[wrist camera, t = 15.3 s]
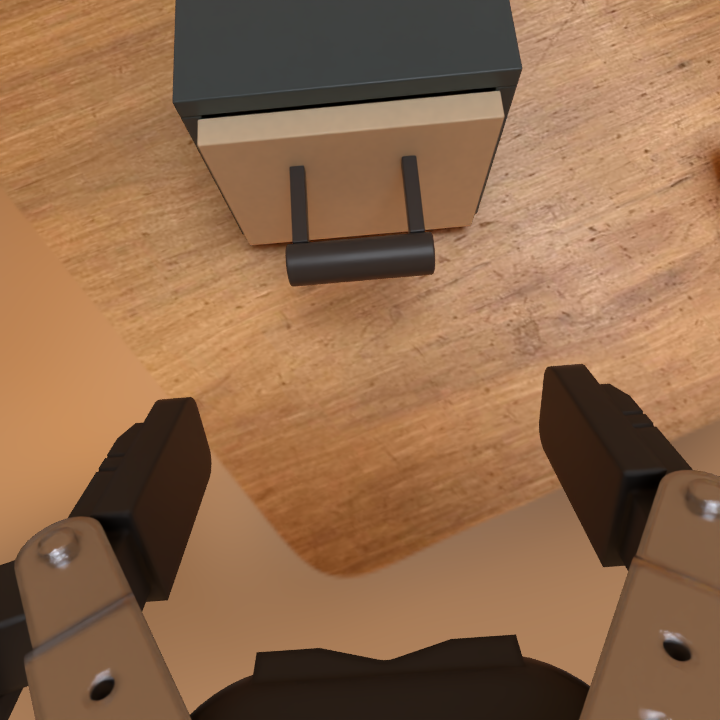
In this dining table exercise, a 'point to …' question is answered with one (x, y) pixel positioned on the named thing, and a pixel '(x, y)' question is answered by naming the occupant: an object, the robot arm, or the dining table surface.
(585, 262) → the dining table surface
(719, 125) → the dining table surface
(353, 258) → the drawer
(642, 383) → the dining table surface
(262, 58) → the cabinet
